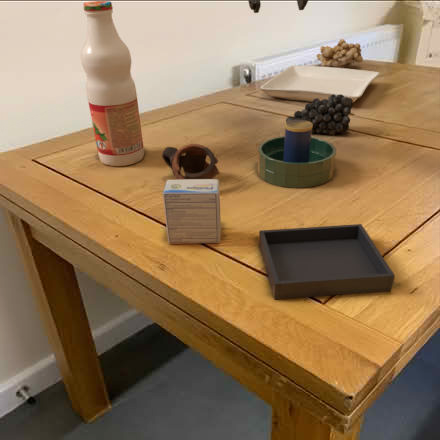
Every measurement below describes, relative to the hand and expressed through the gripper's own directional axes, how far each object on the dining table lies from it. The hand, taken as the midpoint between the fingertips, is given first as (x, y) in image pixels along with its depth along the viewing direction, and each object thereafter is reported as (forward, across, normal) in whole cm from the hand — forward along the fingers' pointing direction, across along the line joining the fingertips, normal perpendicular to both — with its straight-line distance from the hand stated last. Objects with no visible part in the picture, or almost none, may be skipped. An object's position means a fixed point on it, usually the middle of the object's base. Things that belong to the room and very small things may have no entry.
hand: (280, 8), depth 82 cm
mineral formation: (-27, +47, +64) cm, 84 cm away
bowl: (+27, 0, +10) cm, 29 cm away
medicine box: (+39, -23, -2) cm, 46 cm away
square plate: (-9, +28, +46) cm, 55 cm away
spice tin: (+26, 0, +10) cm, 28 cm away
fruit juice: (+14, -31, +24) cm, 41 cm away
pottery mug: (+25, -20, +12) cm, 34 cm away
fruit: (+13, +14, +24) cm, 31 cm away
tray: (+48, -8, -11) cm, 50 cm away
